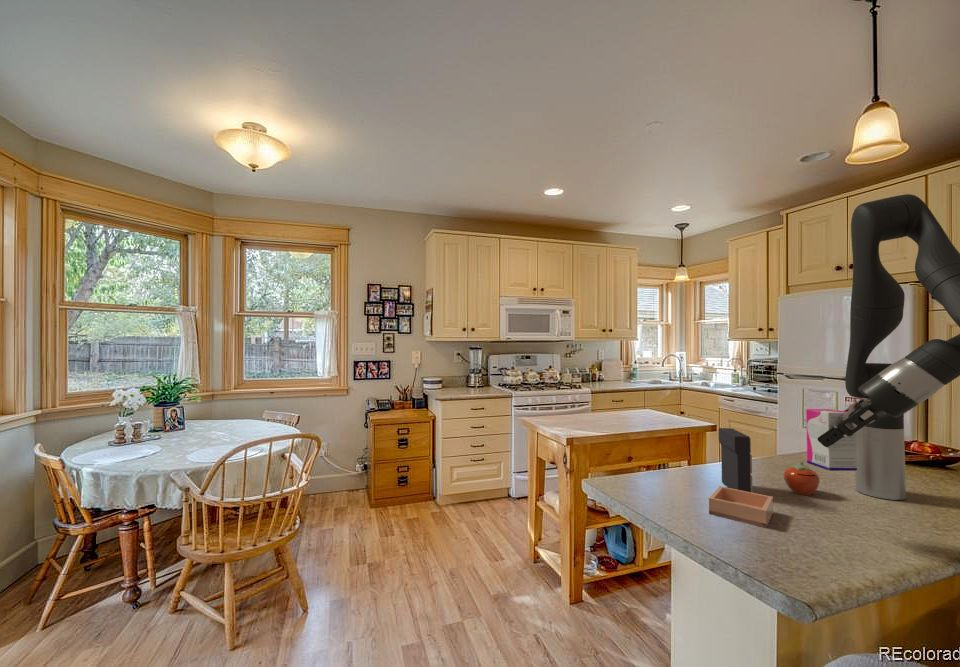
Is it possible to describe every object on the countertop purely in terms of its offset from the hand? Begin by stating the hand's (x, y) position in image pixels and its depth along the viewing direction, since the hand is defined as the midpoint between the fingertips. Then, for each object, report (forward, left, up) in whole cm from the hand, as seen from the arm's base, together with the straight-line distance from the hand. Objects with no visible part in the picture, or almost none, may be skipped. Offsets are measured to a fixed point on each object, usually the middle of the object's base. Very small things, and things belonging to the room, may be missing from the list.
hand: (822, 439), depth 85 cm
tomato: (-24, -5, -19) cm, 31 cm away
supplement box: (0, +1, -6) cm, 6 cm away
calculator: (-15, -18, -19) cm, 30 cm away
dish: (+2, -14, -18) cm, 23 cm away
